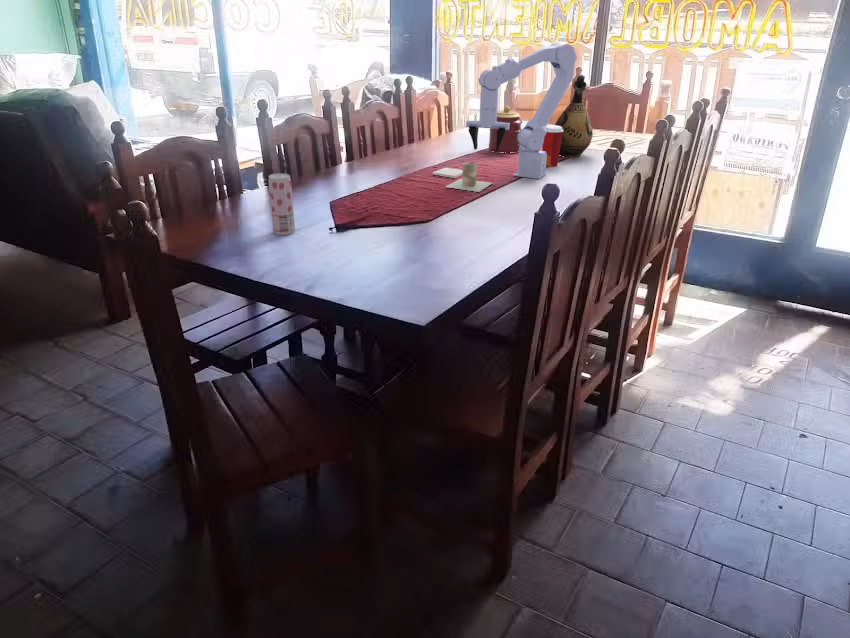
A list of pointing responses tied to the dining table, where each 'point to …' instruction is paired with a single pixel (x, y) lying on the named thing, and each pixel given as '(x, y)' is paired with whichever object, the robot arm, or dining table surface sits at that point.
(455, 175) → the tile
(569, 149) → the ceramic jug
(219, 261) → the dining table surface
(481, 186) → the mat
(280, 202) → the beverage can
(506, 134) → the canister
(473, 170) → the pusher block
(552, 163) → the paper cup
